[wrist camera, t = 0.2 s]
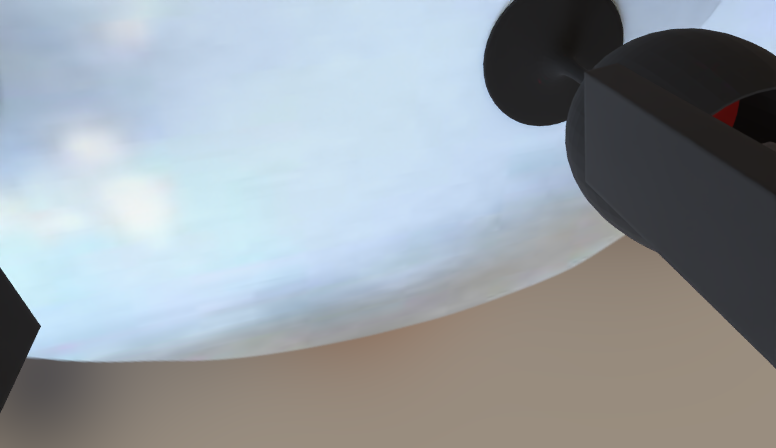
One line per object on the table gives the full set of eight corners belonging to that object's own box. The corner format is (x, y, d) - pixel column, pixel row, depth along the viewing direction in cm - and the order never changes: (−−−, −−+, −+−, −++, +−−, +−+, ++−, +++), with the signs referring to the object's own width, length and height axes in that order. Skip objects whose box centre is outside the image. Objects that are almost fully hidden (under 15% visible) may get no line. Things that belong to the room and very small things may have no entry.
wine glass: (648, 45, 43) (896, 162, 26) (544, 150, 46) (707, 315, 29) (562, -58, 38) (798, 5, 22) (452, 67, 41) (584, 208, 25)
